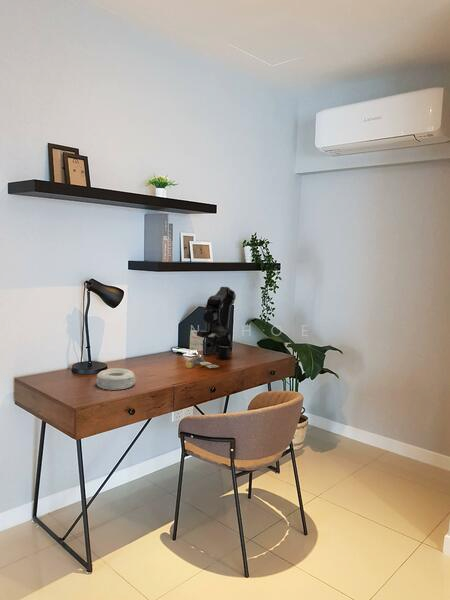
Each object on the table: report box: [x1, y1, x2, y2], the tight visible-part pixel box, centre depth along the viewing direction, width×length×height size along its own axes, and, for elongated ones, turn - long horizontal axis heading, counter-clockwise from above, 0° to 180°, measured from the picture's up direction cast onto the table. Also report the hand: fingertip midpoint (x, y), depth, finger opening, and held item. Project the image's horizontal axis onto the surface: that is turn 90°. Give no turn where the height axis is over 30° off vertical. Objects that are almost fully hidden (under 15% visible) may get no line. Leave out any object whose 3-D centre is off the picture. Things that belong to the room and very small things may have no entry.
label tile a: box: [198, 361, 213, 366], centre depth 267 cm, size 6×4×1 cm, turn 126°
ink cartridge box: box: [189, 329, 204, 355], centre depth 289 cm, size 9×5×15 cm, turn 62°
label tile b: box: [205, 364, 220, 369], centre depth 261 cm, size 6×4×1 cm, turn 126°
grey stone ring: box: [96, 367, 136, 391], centre depth 220 cm, size 18×18×6 cm
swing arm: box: [185, 354, 205, 369], centre depth 264 cm, size 18×4×4 cm, turn 160°
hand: (213, 348), depth 260 cm, fingers closed
